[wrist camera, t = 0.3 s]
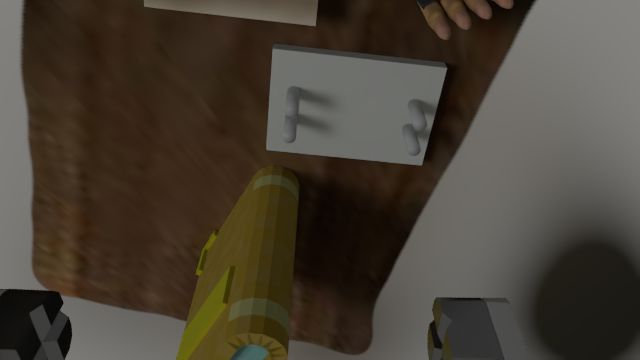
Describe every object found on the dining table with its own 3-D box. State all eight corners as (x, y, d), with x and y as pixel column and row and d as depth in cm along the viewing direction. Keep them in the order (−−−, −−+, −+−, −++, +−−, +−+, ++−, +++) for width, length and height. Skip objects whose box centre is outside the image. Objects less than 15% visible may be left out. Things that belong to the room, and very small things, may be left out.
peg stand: (274, 43, 56) (269, 65, 51) (444, 62, 57) (456, 86, 52) (267, 143, 62) (262, 171, 57) (419, 158, 63) (427, 187, 58)
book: (248, 268, 74) (217, 445, 53) (202, 248, 72) (153, 425, 51) (311, 181, 65) (304, 350, 45) (262, 156, 63) (231, 322, 43)
